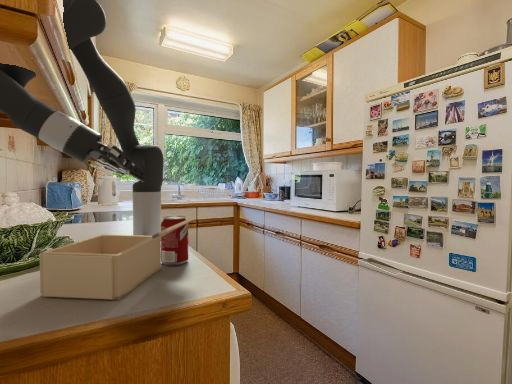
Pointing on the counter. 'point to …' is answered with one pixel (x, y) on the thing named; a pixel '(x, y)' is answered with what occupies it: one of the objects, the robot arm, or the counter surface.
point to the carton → (98, 267)
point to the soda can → (174, 241)
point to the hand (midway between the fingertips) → (146, 178)
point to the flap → (158, 235)
